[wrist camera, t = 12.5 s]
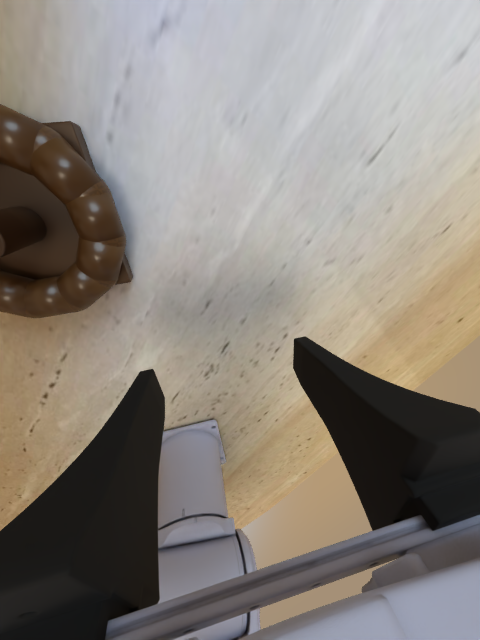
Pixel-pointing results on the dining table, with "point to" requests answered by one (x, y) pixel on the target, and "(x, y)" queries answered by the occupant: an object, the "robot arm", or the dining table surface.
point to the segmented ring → (85, 212)
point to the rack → (40, 221)
